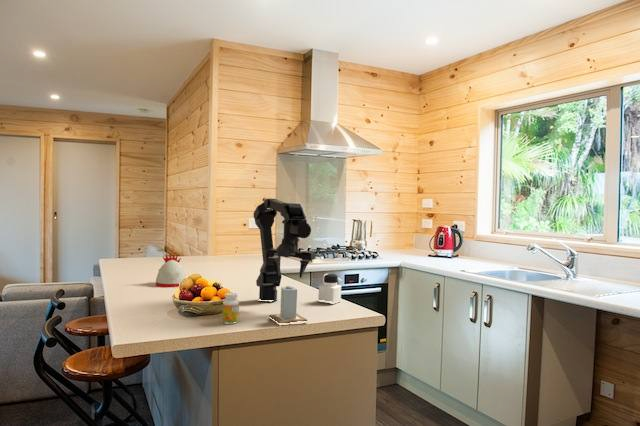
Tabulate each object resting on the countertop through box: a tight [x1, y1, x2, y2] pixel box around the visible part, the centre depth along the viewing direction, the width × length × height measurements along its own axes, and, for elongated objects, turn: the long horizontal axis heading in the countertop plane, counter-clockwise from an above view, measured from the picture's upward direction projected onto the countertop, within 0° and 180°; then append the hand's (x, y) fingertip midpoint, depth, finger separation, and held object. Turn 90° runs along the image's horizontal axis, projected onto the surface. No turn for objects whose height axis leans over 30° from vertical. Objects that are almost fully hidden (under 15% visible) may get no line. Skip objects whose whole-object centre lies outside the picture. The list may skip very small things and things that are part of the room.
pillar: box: [279, 285, 298, 319], centre depth 162 cm, size 4×4×11 cm
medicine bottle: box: [317, 273, 342, 302], centre depth 196 cm, size 7×7×12 cm
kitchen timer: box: [155, 253, 187, 288], centre depth 221 cm, size 14×14×15 cm
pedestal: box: [268, 313, 308, 323], centre depth 162 cm, size 10×10×2 cm
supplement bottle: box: [221, 292, 240, 324], centre depth 157 cm, size 5×5×10 cm
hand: (289, 276), depth 178 cm, fingers open, 9 cm apart
